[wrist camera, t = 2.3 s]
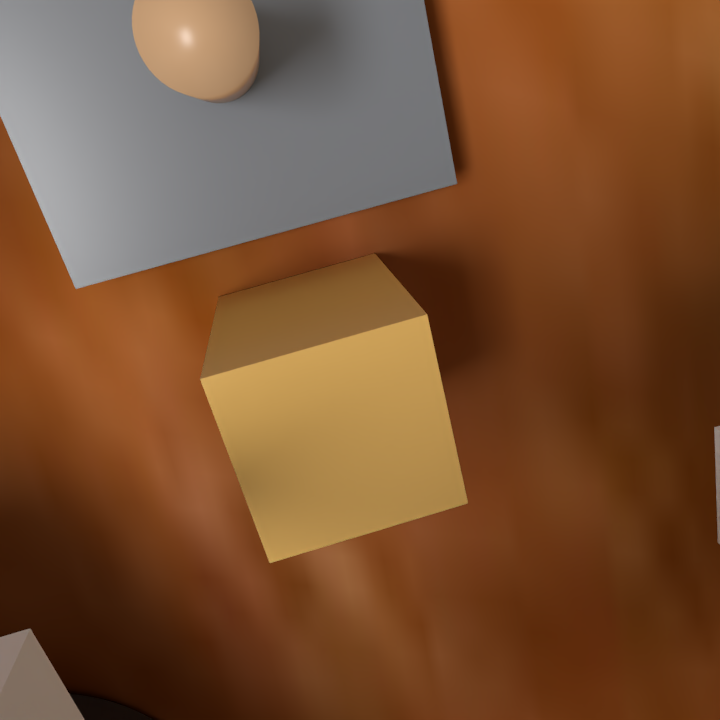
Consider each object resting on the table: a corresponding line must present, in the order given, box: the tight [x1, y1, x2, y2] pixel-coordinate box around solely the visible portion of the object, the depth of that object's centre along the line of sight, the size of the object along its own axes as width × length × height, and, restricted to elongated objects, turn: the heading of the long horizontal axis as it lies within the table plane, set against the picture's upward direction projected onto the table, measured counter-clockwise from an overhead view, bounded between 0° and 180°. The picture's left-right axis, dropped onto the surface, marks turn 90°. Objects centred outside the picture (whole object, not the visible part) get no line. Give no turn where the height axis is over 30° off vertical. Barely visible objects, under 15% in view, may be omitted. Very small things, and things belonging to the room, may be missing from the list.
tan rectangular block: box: [200, 253, 468, 563], centre depth 21 cm, size 6×6×8 cm
